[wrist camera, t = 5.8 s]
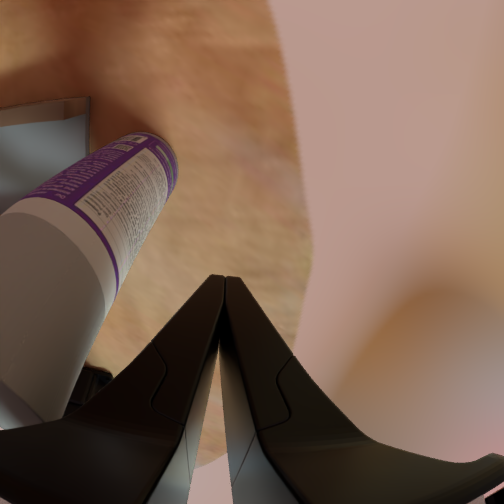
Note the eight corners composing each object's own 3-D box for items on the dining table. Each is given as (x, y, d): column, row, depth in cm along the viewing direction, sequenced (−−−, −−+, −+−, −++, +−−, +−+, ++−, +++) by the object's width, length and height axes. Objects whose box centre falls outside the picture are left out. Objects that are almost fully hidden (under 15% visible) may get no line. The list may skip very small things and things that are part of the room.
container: (96, 187, 17) (-64, 381, 4) (121, 119, 15) (-115, 266, 2) (160, 218, 18) (61, 461, 5) (192, 151, 16) (56, 401, 3)
